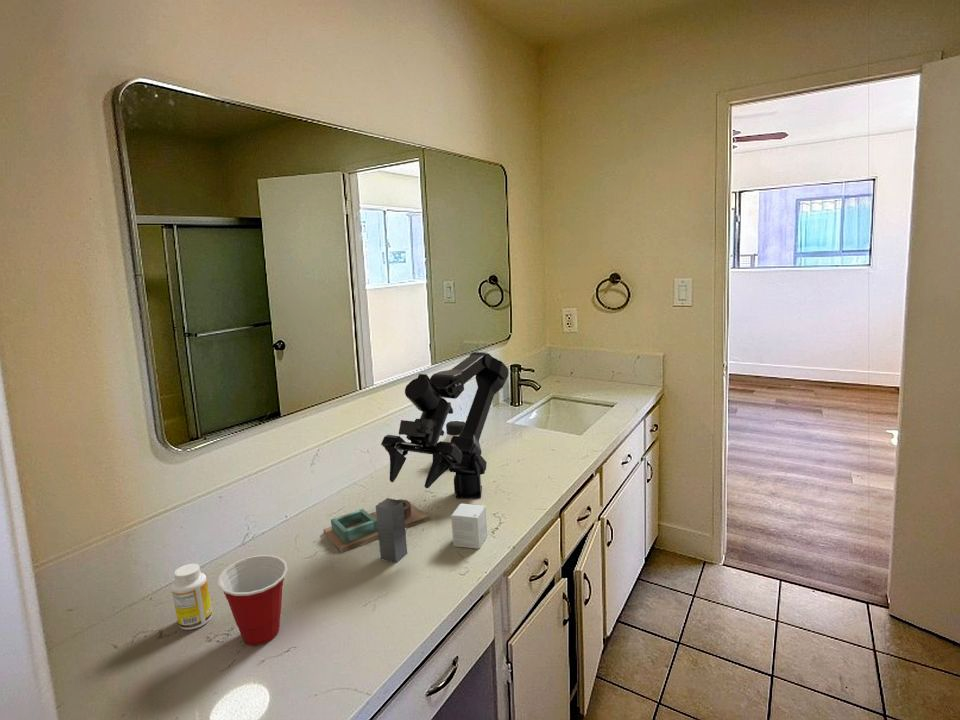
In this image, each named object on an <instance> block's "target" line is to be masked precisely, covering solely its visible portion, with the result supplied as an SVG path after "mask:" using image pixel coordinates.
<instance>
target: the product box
mask: <svg viewBox="0 0 960 720" xmlns="http://www.w3.org/2000/svg"><path fill="white" fill-rule="evenodd" d="M486 508H487V507H486V505H482V504H481V505H479V504H470V503H469V504H467V503H460V504H459V505H458V506H457V507H456V509H455V510H454V511H453V513H452V514H451V516H450V517H451V530H452V541H453V547H460V548H469V549H478V550H479V549H480V548H481V547H482V546H483V544H484V542H485V541H486V538H487V536H488V523H487V520H488V519H487V509H486Z"/></svg>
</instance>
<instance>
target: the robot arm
mask: <svg viewBox="0 0 960 720" xmlns="http://www.w3.org/2000/svg"><path fill="white" fill-rule="evenodd" d="M473 377H475V382H476V384H477V388H476V391H475V394H474V397H473V400H472V402H471V405H470V408H469V412H468V415H467V417H466V420H465V421H464V422H465V425H464V428H463V431H462V433H461V434H460V435H459V436H453V437H452V439H451V442H443V441H442V440H441V441H439V439H440V437H441V436H442V437H444V434H445V431H444V430H443V428H444V426H445V422H446V419H447V418H448V414H452V415H453V414H454V408H453V407H452V404H451V403H452V402H449V401H447V400H446V399H458V397H460V395H461V394H462V393H463V392H464V390H465V384H466V383H467V382H469V380H471V379H472V378H473ZM508 377H509V368H508V367H507V366H506V364H505V363H504V362H503V361H502V360H499V359H498V358H495V357H493V356H492V355H491V354H490V353H488V352H483V351H481V352H479V351H474V352H471V353H470V354H469V356H467V357H466V358H465V359H463V360H462V361H460V362H459V363H458V364H457V365H455V366H453V367H452V368H451V369H448V370H442V371H437V372H436V373H433V374H432V375H431V376H430V377H429V375H427V374H426V373H424V374H423V373H419V374H418V375H417V378H414V379H412V380H411V381H410V382H409V383H408V384H406V386H405V389H404V394H405V396H406V397H407V399H408V400H409V401H410V402H411V404H413V405H414V406H415V408H416V409H417V410H419V411H420V412H421V414H420V417H419V418H416V419H414V421H413V420H404V419H401V420H400V423H399V429H398V435H393V434H387V435H385V436H384V437H382V438H383V439H382V440H381V443H380V445H381V446H382V447H383V448H384V450H385V451H386V452H387V453H388V455H389V481H390V483H394V481H395V480H396V479H397V478H398V476H399V474H400V472H401V470H402V468H403V466H404V465H405V462H406V460H407V457H406V456H407V455H408V453H409V452H413V453H420V454H425V455H432V463H431V466H430V468H429V471H428V473H427V477H426V479H425V482H424V488H425V489H429V488H430V487H431V486H432V485H433V484H434V483H435V482H436V481H437V480H438V479H439V478H440V477H441V476H442V475H443V474H444V473H445V472H447V471H449V473H455V475H454V477H453V487H454V488H453V489H454V494H455V499H479V498H481V497H482V490H483V486H482V481H481V477H482V476H481V475H485V473H486V470H487V463H488V462H487V461H486V459H484V458H483V456H482V448H481V444H480V438H481V436H482V432H483V429H484V427H485V423H486V422H487V421H486V420H487V417H488V415H489V413H490V409H491V406H492V402H493V399H494V397H495V395H496V394H498V392H499V391H500V390H502V389H503V388H504V386H505V383H506V381H507V379H508ZM401 435H405V436H406V437H405V438H406V440H408V441H410V442H406V440H404V438H403V437H402V436H401Z"/></svg>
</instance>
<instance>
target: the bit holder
mask: <svg viewBox="0 0 960 720" xmlns="http://www.w3.org/2000/svg"><path fill="white" fill-rule="evenodd" d="M398 500H400V501H403V509H404V520H405V528H406V529H408V528H411V527H413V526H416V525H419V524H421V523H425V522H426V521H429V520H430V515H429V514H428V513H426V512H424V511H423V510H421V509H419V507H417V506H415V505H413V504H412V503H411V502H410V501H409V500H407V499H402V498H401V499H400V498H399V499H398ZM330 524H331V525H330V526H329V527H326V528H323V534H324V535H325V536H326V537H327V538H328V539H329V540H330V541H331V542H332V543H333V544H334V545H335V547H337V549H339V550H340V552H341V553H344V552H346V551H349V550H352V549H354V548H357V547H359V546H362V545H365V544H368V543H370V542H373V541H376V540H379V536H378V526H377V516H376V511H373V512H370V513H369V512H367V511H366V510H365V509H364V508H362V509H358V510H355V511H353V512H349V513H346V514H344V515H340V516H337V517H335V518H331V519H330Z"/></svg>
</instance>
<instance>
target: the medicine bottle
mask: <svg viewBox="0 0 960 720" xmlns="http://www.w3.org/2000/svg"><path fill="white" fill-rule="evenodd" d="M465 422H466V421H464V420H459V419H457V420H456V419H455V420H451V421H450V420H449V421H448V422H447V423H446V424H445V429H446V436H445V438H444V439H443V441H442V442H451V439H452V437H453V436H459V435H460V434H461V433H462V431H463V428H464V425H465Z"/></svg>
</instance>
